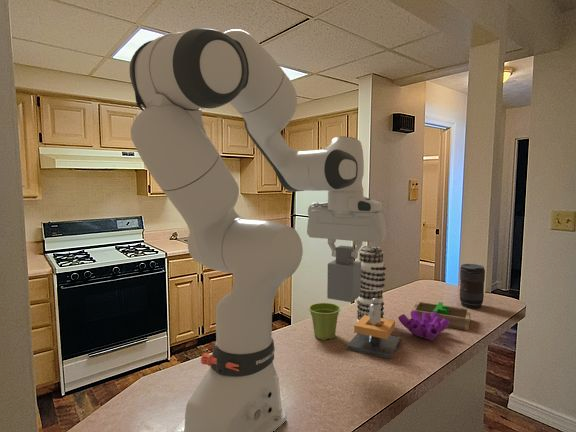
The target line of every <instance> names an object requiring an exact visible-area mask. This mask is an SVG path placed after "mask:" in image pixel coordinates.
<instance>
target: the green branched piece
mask: <svg viewBox="0 0 576 432" xmlns="http://www.w3.org/2000/svg"><path fill="white" fill-rule="evenodd" d="M437 304H438V305H437V306H436V307H435V309H434V310H433V312H436V313H439V314H445V315H448V310H449V306H450V305H443V302H442V301H441V302H440V301H439V302H438V303H437Z"/></svg>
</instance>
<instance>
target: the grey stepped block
mask: <svg viewBox="0 0 576 432" xmlns="http://www.w3.org/2000/svg"><path fill="white" fill-rule="evenodd" d="M354 249H355V246H350V245H339V246H337V247H336V257H335V259H334V260H331V261H330V262H328V263H327V283H326V284H327V290H326V292H327V296H326V297H327V298H326V299H329V300H335V301H340V302H347V303H353V302H355V301H356V300H357V299H358V297H359V296H360V295H361V261H359V260H355V259H353V258H350V251H354Z"/></svg>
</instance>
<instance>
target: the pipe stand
mask: <svg viewBox="0 0 576 432" xmlns="http://www.w3.org/2000/svg"><path fill="white" fill-rule="evenodd" d="M369 325H372V326H377V327H381V304H380V303H379V299H378V298H372V302H371V303H370V324H369ZM401 342H402V337H399V336H395V335H391V334H390V335H389V337H388V338H387V339H383V338H378V337H373V336H369V335H364V334H359V333H355V335H354V337H353V338H352V339H351V340H350V341H349V342H348V343H347V345H346V350H349V351H353V352H358V353H362V354H366V355H371V356H376V357H378V358H383V359H388V360H392V358H393V356H394V355H395V353H396V351H397V349H398V348H399V346H400V344H401Z"/></svg>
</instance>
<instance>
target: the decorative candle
mask: <svg viewBox="0 0 576 432" xmlns="http://www.w3.org/2000/svg"><path fill="white" fill-rule="evenodd" d="M358 253H359V256H358V257H359V259H358V261H361V295H360V296H359V297H358V298H357V299H358V300H357V306H356V307H357V310H356V319H357V320H356V321H357V322H358V321H359V320H360V319H361V318H362V317H363V316H364V315H367V316H370V303H371V302H372V298H378V299H379V303H380V304H381V318H384V314H385V313H384V310H385V308H384V305H385V303H384V296H383V291H384V289H385V284H384V283H383V282H384V281H385V280H386V278H385V276H386V273H385V272H383V271H386V270H387V268H386V267H385V261H384V253H385V251H383V250H382V248H381V247H380V246H376V245H365V246H363V247H362V246H361V248H360V249H359V251H358ZM357 322H356V323H357Z"/></svg>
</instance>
